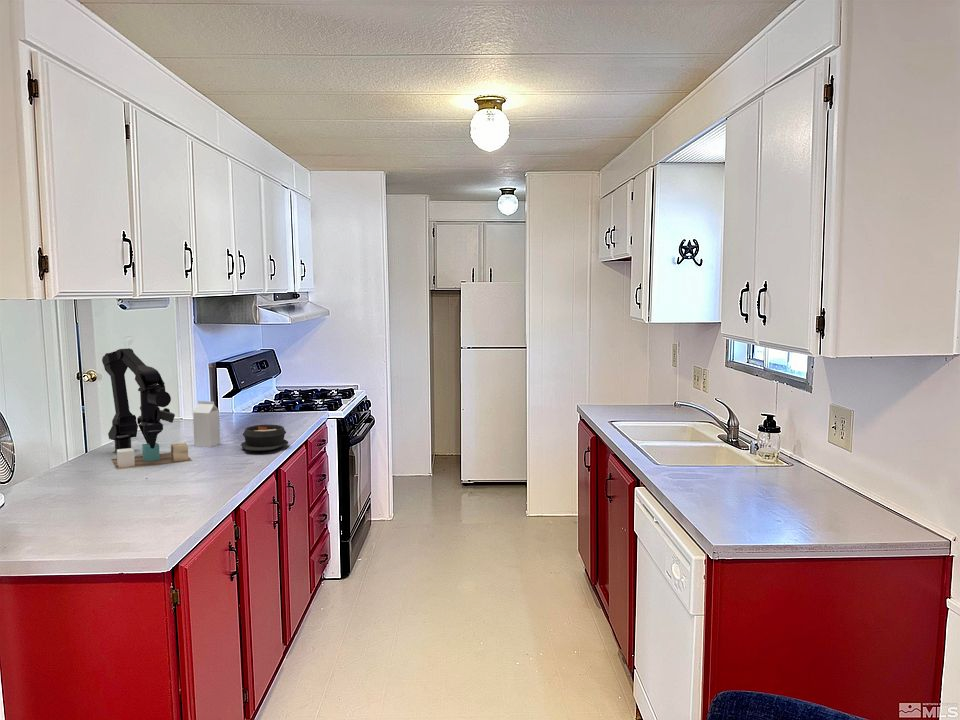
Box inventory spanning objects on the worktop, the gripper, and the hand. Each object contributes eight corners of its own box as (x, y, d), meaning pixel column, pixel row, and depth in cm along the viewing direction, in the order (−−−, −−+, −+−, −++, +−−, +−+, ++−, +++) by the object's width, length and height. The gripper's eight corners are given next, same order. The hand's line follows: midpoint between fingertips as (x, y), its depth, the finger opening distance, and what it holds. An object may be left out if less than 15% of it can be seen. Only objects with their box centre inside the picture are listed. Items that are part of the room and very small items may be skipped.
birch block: (171, 458, 265) (170, 444, 265) (185, 457, 268) (185, 442, 268) (173, 461, 261) (173, 446, 261) (188, 459, 264) (187, 445, 263)
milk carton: (210, 450, 285) (208, 403, 283) (194, 449, 286) (192, 402, 284) (220, 446, 292) (218, 400, 290) (204, 445, 293) (203, 399, 291)
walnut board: (111, 462, 264) (110, 458, 264) (183, 454, 278) (182, 451, 278) (116, 472, 249) (116, 469, 249) (192, 464, 263) (192, 460, 262)
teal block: (142, 458, 265) (142, 444, 264) (157, 457, 267) (156, 442, 267) (144, 461, 261) (144, 446, 260) (159, 459, 263) (159, 445, 263)
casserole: (247, 441, 301) (247, 422, 301) (292, 441, 304) (292, 421, 303) (234, 455, 277) (233, 434, 276) (283, 454, 279) (283, 433, 278)
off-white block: (117, 464, 256) (116, 449, 255) (132, 462, 258) (132, 447, 258) (119, 467, 252) (118, 452, 251) (134, 465, 254) (134, 450, 254)
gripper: (177, 406, 259) (178, 448, 260) (168, 399, 274) (169, 439, 276) (143, 408, 253) (145, 452, 254) (136, 401, 268) (137, 442, 270)
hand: (150, 445), depth 264 cm, fingers open, 9 cm apart
